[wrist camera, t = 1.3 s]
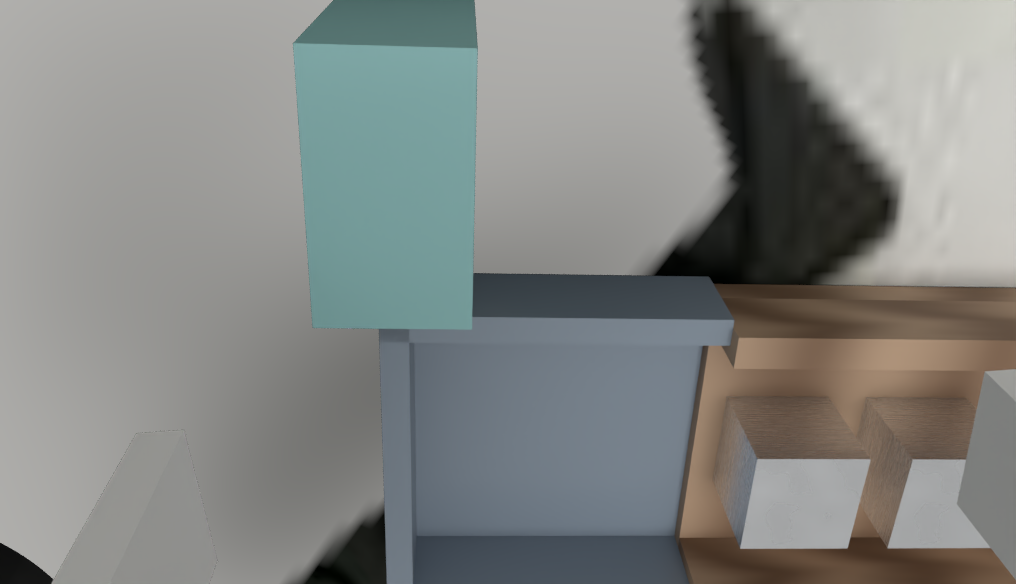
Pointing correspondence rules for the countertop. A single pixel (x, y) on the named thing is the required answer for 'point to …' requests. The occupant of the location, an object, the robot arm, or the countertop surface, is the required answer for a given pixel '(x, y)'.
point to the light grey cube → (917, 470)
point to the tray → (545, 431)
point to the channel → (847, 382)
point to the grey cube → (789, 472)
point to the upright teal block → (389, 162)
